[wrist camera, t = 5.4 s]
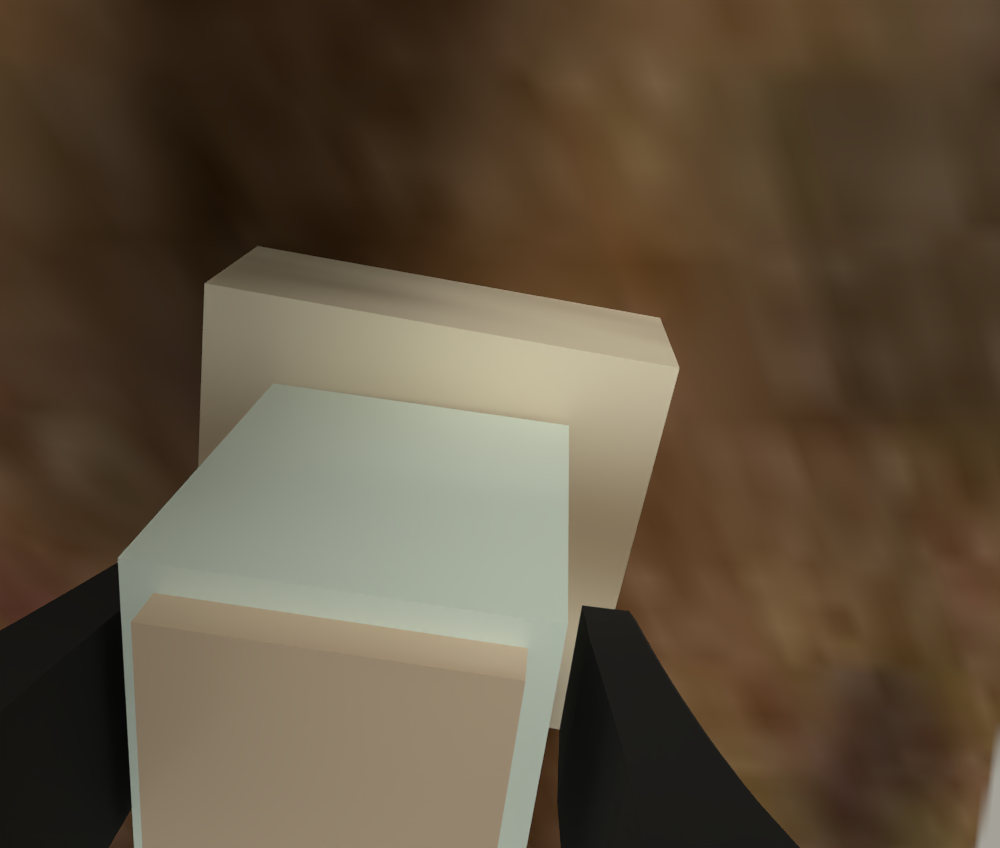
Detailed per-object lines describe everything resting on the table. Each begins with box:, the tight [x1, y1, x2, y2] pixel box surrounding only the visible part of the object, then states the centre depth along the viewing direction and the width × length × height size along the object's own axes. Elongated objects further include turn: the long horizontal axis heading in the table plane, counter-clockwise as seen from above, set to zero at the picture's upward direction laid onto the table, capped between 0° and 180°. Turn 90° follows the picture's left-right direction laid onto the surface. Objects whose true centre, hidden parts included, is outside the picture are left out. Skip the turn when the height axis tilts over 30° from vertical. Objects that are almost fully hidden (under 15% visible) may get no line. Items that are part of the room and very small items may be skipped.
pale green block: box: [118, 383, 569, 848], centre depth 12 cm, size 4×4×6 cm
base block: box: [198, 246, 679, 729], centre depth 16 cm, size 7×7×3 cm
